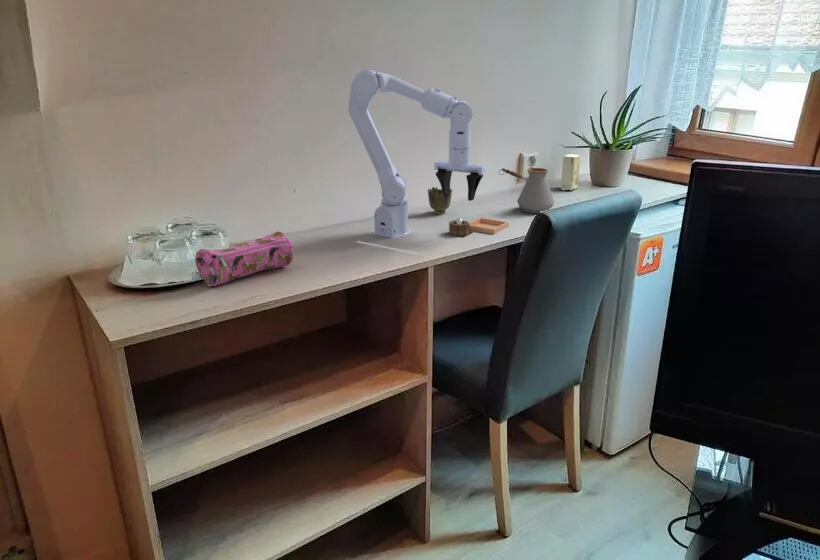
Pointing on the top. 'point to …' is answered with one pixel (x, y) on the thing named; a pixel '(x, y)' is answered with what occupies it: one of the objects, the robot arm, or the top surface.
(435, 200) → the cup
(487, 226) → the dish
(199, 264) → the pencil case
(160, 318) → the top surface
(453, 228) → the ring
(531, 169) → the coffee pot
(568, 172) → the skincare box
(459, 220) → the stand
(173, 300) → the top surface
